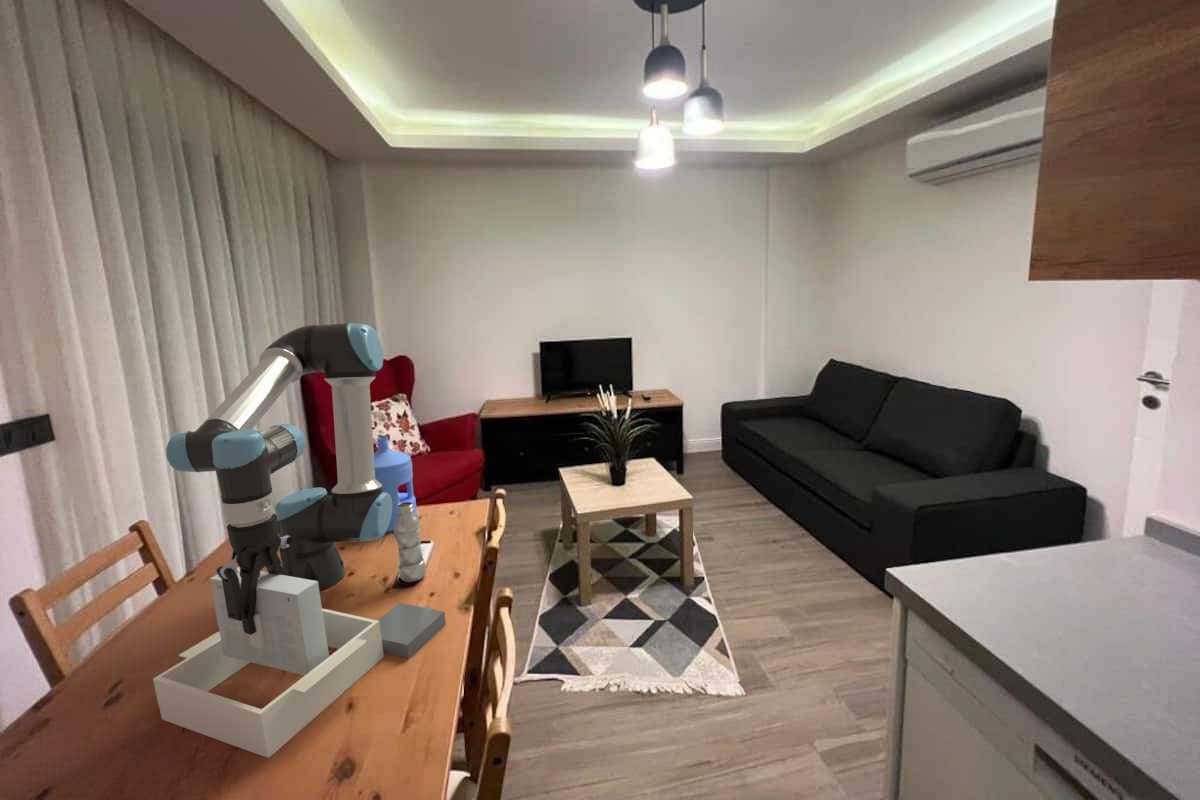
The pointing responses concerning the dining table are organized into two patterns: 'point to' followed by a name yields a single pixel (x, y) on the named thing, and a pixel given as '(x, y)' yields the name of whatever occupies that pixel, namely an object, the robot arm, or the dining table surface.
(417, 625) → the plate
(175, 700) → the tray
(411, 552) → the plastic bottle
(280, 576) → the skincare box
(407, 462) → the water jug
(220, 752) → the dining table surface
